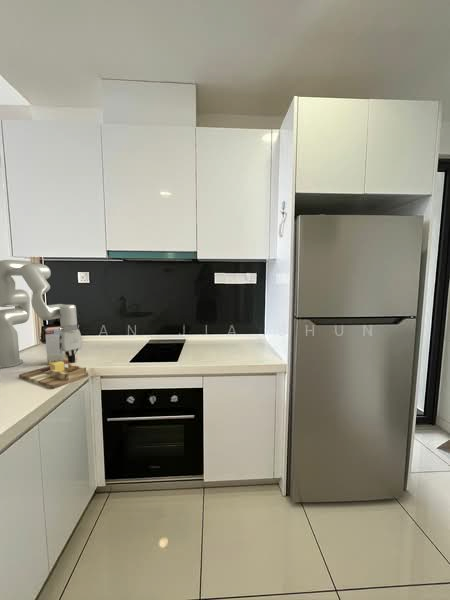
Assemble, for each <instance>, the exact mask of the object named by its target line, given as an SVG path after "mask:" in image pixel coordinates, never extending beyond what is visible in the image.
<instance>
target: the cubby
mask: <svg viewBox="0 0 450 600" xmlns="http://www.w3.org/2000/svg"><path fill="white" fill-rule="evenodd" d="M67 364H68V365H67V368H68V370H70V371H73V372H70V373H64V372H60V371H56V370H53V369H52V370H50V371H49V372H50V376H52V377H55V378H59V379H62V380H66V381H67V380H70V379H73V378H76V377H78V376H81V375H84V374H86V373H87V368H86V367H84V366H80V365H76V364H73V363H67Z"/></svg>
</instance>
